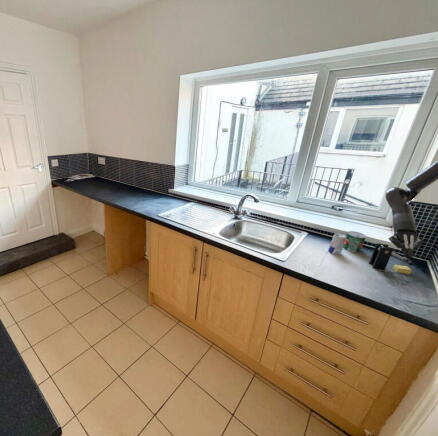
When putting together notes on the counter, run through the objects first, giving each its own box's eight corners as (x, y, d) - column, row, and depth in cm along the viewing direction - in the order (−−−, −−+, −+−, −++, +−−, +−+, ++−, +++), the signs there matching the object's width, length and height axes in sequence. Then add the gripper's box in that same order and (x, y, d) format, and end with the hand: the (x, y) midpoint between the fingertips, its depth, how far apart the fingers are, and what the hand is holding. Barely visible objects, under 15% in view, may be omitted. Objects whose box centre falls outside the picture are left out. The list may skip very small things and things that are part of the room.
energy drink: (328, 251, 135) (335, 232, 130) (340, 255, 131) (347, 235, 127) (326, 255, 131) (333, 235, 127) (338, 258, 128) (345, 238, 123)
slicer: (384, 267, 120) (393, 244, 116) (392, 275, 113) (403, 251, 109) (359, 263, 124) (367, 240, 119) (366, 271, 117) (375, 247, 112)
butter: (405, 271, 116) (407, 266, 115) (409, 275, 113) (412, 270, 112) (392, 269, 118) (394, 264, 117) (396, 272, 114) (398, 268, 113)
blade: (404, 261, 115) (408, 257, 114) (410, 266, 111) (415, 262, 110) (375, 247, 118) (379, 243, 117) (381, 252, 113) (385, 248, 112)
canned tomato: (338, 247, 139) (344, 230, 135) (354, 249, 138) (360, 231, 134) (345, 254, 132) (352, 236, 128) (362, 256, 131) (369, 238, 126)
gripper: (391, 218, 118) (396, 252, 111) (427, 222, 114) (434, 257, 107) (382, 225, 124) (386, 257, 118) (415, 228, 120) (421, 262, 114)
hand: (408, 257), depth 113 cm, fingers closed
